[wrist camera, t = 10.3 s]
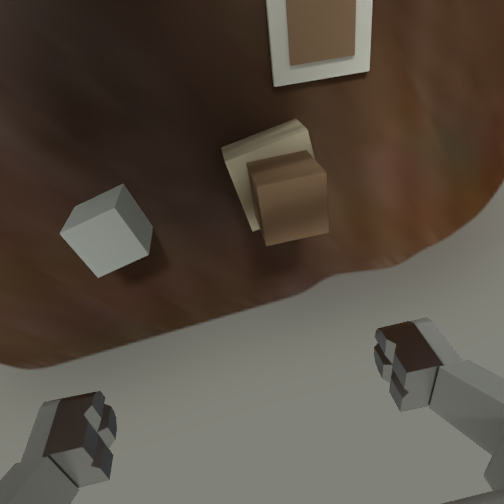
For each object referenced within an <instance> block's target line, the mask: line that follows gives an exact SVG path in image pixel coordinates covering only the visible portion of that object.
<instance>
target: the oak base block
mask: <svg viewBox="0 0 504 504" xmlns="http://www.w3.org/2000/svg"><path fill="white" fill-rule="evenodd" d="M221 149H222V153H223V157H224V161H225V164H226V166H227V169H228V171H229V174H230V176H231V179H232V181H233V184H234V186H235V189H236V191H237V194H238V196H239V199H240V201H241V204H242V206H243V209H244V211H245V214H246V216H247V219H248V221H249V224H250V226H251V229H252V231H256V230H259V229H260V228H259V225H258V222H257V219H256V216H255V210H254V205H253V199H252V193H251V187H250V181H249V175H248V170H247V164H246V163H247V162H251V161H256V160H261V159H266V158H270V157H275V156H280V155H285V154H290V153H294V152H299V151H304V150H307V151H308V152H309V153H310V154H311V156H312V157H313V158H314V153H313V149H312V145H311V141H310V137H309V133H308V130H307V129H306V128H305V127H304V126H303V125H302V124H301V123H300V122H299V121H298V120H297V119H293V120H290V121H288V122H285V123H283V124H280V125H278V126H275V127H273V128H270V129H267V130H265V131H262V132H260V133H257V134H255V135H252V136H250V137H247V138H244V139H242V140H239V141H237V142H234V143H232V144H229V145H226V146H224V147H221ZM314 159H315V158H314Z"/></svg>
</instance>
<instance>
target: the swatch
mask: <svg viewBox="0 0 504 504" xmlns="http://www.w3.org/2000/svg"><path fill="white" fill-rule="evenodd" d="M372 2H373V0H266V11H267V22H268V33H269V44H270V55H271V66H272V78H273V86H274V87H278V86H284V85H290V84H296V83H302V82H308V81H313V80H319V79H325V78H331V77H337V76H343V75H349V74H355V73H361V72H367V71H369V69H370V47H371V25H372Z"/></svg>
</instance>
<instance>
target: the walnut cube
mask: <svg viewBox="0 0 504 504" xmlns="http://www.w3.org/2000/svg"><path fill="white" fill-rule="evenodd" d="M246 164H247V170H248V175H249V181H250V187H251V193H252V199H253V205H254V210H255V216H256V219H257V222H258V225H259V228H260V230H261V233H262V236H263V239H264V242H265V244H266V246H270V245H275V244H279V243H284V242H288V241H293V240H297V239H302V238H306V237H311V236H315V235H320V234H324V233H329V220H328V197H327V175H326V171H325V170H324V169H323V168H322V167H321V166H320V164H319V163H318V162H317V161H316V160H315V159H314V158H313V157H312V156H311V154H310V153H309V152H308V151H307V150H304V151H299V152H294V153H290V154H285V155H280V156H275V157H270V158H266V159H261V160H256V161H251V162H247V163H246Z"/></svg>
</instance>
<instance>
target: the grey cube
mask: <svg viewBox="0 0 504 504" xmlns="http://www.w3.org/2000/svg"><path fill="white" fill-rule="evenodd" d="M152 231H153V226H152V225H151V223H150V222H149V220H148V219H147V217H146V216H145V214H144V213H143V212H142V210H141V209H140V207H139V206H138V204H137V203H136V201H135V200H134V198H133V197H132V195H131V194H130V193H129V191H128V190H127V188H126V187H125V185H124V184H121V185H119V186H117V187H115V188H113V189H111V190H109V191H107V192H104V193H102V194H100V195H98V196H96V197H94V198H92V199H90V200H88V201H86V202H84V203H81V204H79V205H77V206H75V207H74V209H73V211H72V212H71V214H70V216H69V218H68V219H67V221H66V223H65V225H64V226H63V228H62V230H61V232H60V233H59V234H60V235H61V236H62V237H63V238H64V239H65V241H66V242H67V243H68V244H69V245H70V246H71V248H72V249H73V250H74V251H75V252H76V253H77V254H78V256H79V257H80V258H81V259H82V260H83V261H84V262H85V264H86V265H87V266H88V267H89V268H90V269H91V270H92V272H93V273H94V274H95V275H96V276H97V277H98V278H99V277H101V276H103V275H105V274H108V273H110V272H112V271H114V270H116V269H119V268H121V267H123V266H125V265H128V264H130V263H132V262H134V261H136V260H139V259H141V258H143V257H145V256H147V255H149V251H150V244H151V238H152Z"/></svg>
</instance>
